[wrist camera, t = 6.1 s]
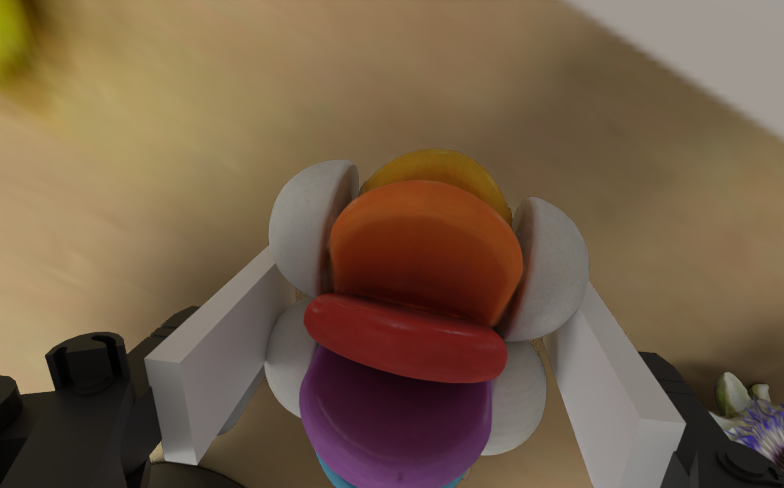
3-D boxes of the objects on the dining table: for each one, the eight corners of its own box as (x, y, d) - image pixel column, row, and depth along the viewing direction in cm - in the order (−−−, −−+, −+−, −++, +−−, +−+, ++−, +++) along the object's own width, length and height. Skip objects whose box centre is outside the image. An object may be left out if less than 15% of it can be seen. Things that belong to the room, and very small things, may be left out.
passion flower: (698, 337, 30) (968, 478, 20) (625, 464, 32) (835, 644, 22) (613, 325, 23) (947, 521, 14) (529, 484, 26) (764, 747, 16)
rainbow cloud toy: (587, 164, 13) (743, 260, 6) (507, 417, 16) (546, 657, 9) (308, 118, 13) (159, 156, 6) (290, 372, 17) (182, 568, 10)
